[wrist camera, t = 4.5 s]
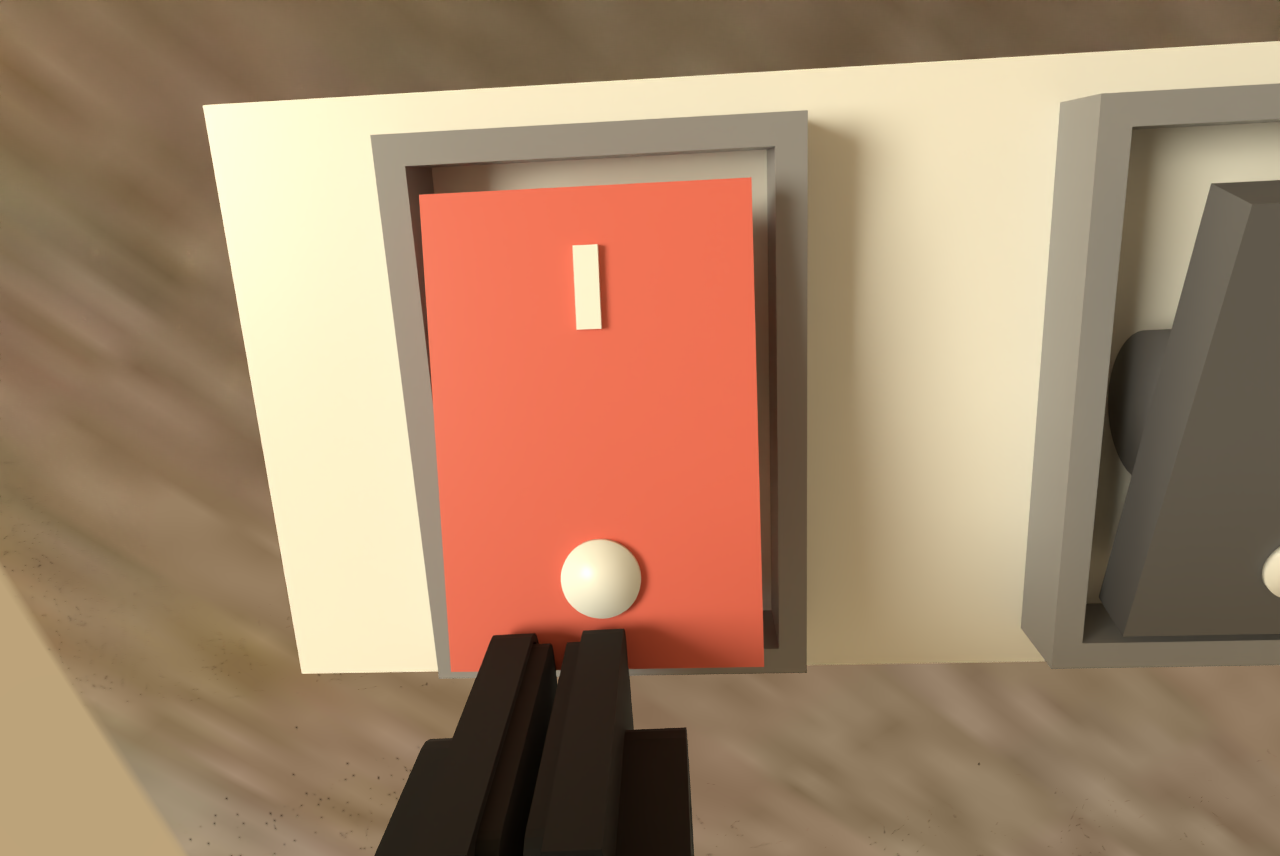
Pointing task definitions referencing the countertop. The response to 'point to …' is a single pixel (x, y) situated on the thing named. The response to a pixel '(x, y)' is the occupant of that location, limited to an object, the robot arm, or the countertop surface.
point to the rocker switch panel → (773, 330)
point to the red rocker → (598, 418)
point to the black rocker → (1204, 438)
